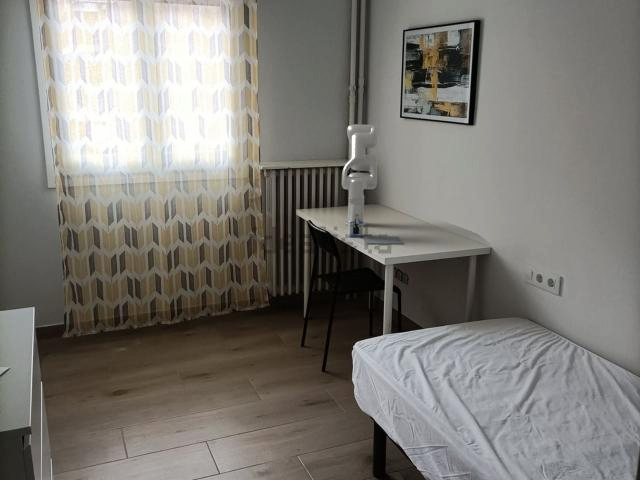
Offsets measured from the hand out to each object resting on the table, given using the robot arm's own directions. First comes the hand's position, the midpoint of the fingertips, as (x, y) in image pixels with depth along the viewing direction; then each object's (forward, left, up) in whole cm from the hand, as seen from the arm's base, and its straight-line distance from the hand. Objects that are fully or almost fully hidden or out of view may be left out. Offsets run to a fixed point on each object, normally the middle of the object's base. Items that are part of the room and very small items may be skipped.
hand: (355, 232), depth 340 cm
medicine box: (0, 0, -2) cm, 2 cm away
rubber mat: (+11, +14, -2) cm, 18 cm away
